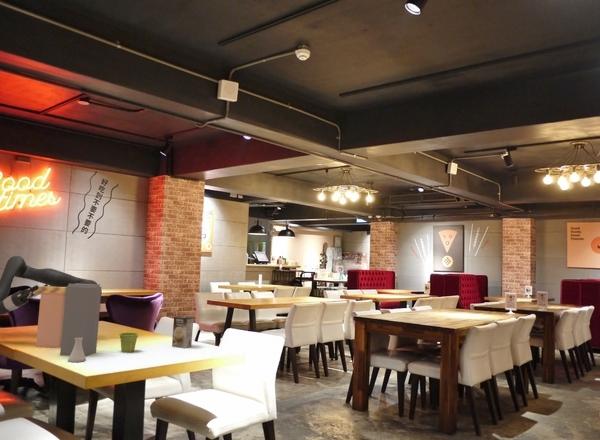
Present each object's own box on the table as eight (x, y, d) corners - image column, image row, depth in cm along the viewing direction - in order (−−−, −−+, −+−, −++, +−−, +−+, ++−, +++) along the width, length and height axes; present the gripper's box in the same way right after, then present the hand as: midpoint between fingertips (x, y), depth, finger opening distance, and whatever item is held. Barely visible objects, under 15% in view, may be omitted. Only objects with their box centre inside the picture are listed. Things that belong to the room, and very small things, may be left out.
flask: (78, 363, 213) (80, 339, 214) (64, 361, 214) (66, 338, 215) (89, 360, 220) (90, 337, 221) (74, 358, 222) (76, 336, 223)
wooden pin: (32, 294, 252) (33, 284, 253) (38, 293, 257) (39, 284, 258) (76, 296, 250) (77, 286, 251) (81, 295, 256) (82, 286, 256)
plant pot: (135, 353, 241) (137, 335, 242) (116, 352, 240) (117, 335, 240) (139, 349, 250) (140, 332, 251) (119, 349, 249) (121, 332, 250)
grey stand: (60, 355, 228) (66, 283, 232) (72, 351, 239) (78, 283, 242) (84, 356, 228) (90, 285, 231) (96, 352, 238) (101, 284, 242)
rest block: (36, 346, 247) (41, 292, 250) (47, 343, 257) (52, 291, 260) (58, 347, 246) (63, 293, 249) (69, 344, 256) (73, 292, 259)
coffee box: (171, 346, 264) (173, 316, 265) (178, 345, 270) (180, 315, 271) (184, 348, 260) (186, 318, 262) (192, 346, 266) (194, 317, 267)
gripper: (4, 295, 249) (31, 280, 248) (21, 293, 263) (48, 279, 262) (9, 308, 248) (37, 293, 247) (27, 306, 262) (53, 292, 262)
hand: (42, 286), depth 255 cm, fingers open, 8 cm apart
